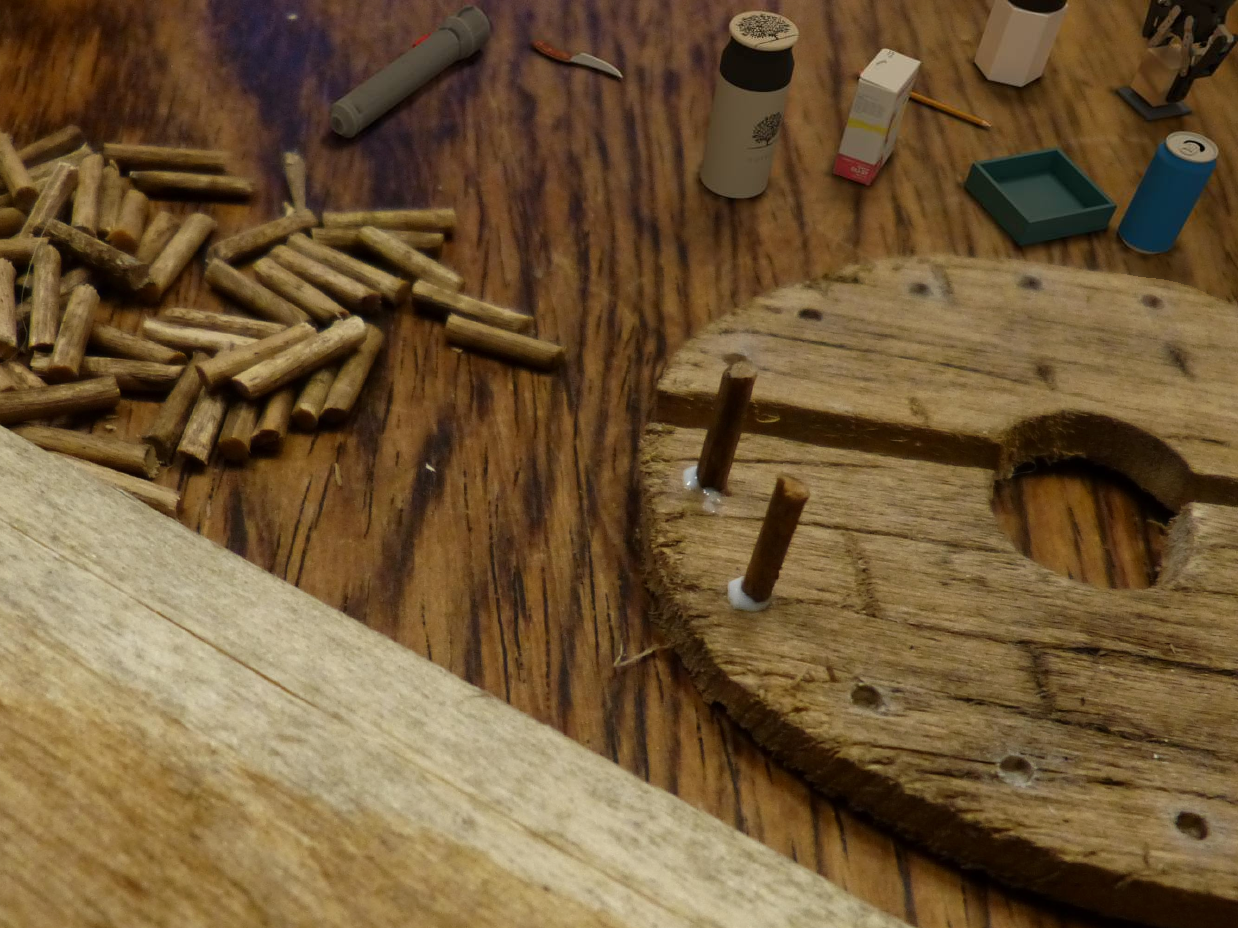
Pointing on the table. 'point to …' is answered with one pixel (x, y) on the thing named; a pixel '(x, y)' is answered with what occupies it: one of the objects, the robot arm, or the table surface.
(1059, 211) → the tray
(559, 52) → the knife
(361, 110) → the flashlight
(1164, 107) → the mat
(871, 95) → the ink box
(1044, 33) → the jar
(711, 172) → the travel mug
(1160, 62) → the beech block
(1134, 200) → the beverage can
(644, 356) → the table surface
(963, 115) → the pencil
